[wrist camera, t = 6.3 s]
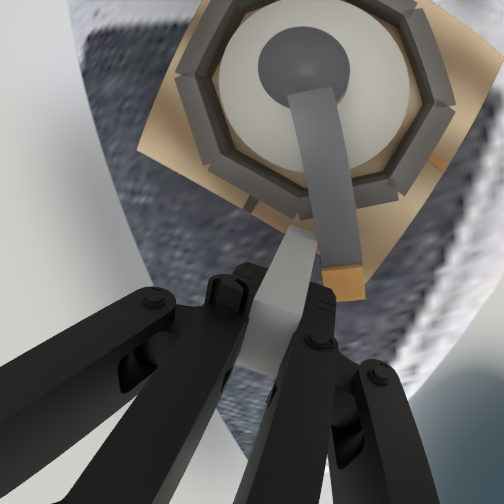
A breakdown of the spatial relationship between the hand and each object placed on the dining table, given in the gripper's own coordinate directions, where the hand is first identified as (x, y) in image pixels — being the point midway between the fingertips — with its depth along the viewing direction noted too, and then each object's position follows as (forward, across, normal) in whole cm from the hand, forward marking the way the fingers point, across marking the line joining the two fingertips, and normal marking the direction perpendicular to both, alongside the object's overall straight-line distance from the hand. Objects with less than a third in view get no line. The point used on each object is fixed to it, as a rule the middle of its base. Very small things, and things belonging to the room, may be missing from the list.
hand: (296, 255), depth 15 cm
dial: (+5, -1, +6) cm, 8 cm away
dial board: (+7, -2, +8) cm, 11 cm away
